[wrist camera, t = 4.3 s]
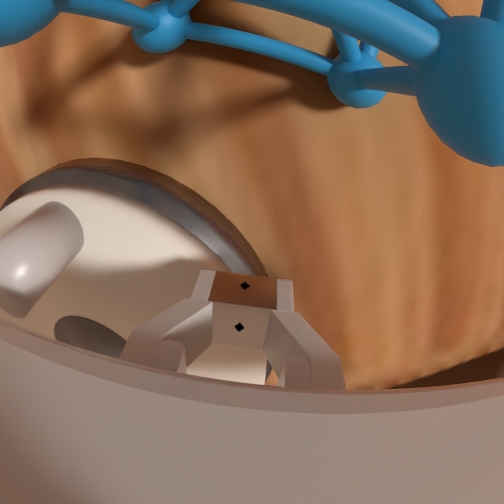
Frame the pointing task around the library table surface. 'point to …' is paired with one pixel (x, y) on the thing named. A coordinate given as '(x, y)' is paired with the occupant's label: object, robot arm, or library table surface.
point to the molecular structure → (342, 53)
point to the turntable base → (158, 205)
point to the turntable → (104, 273)
